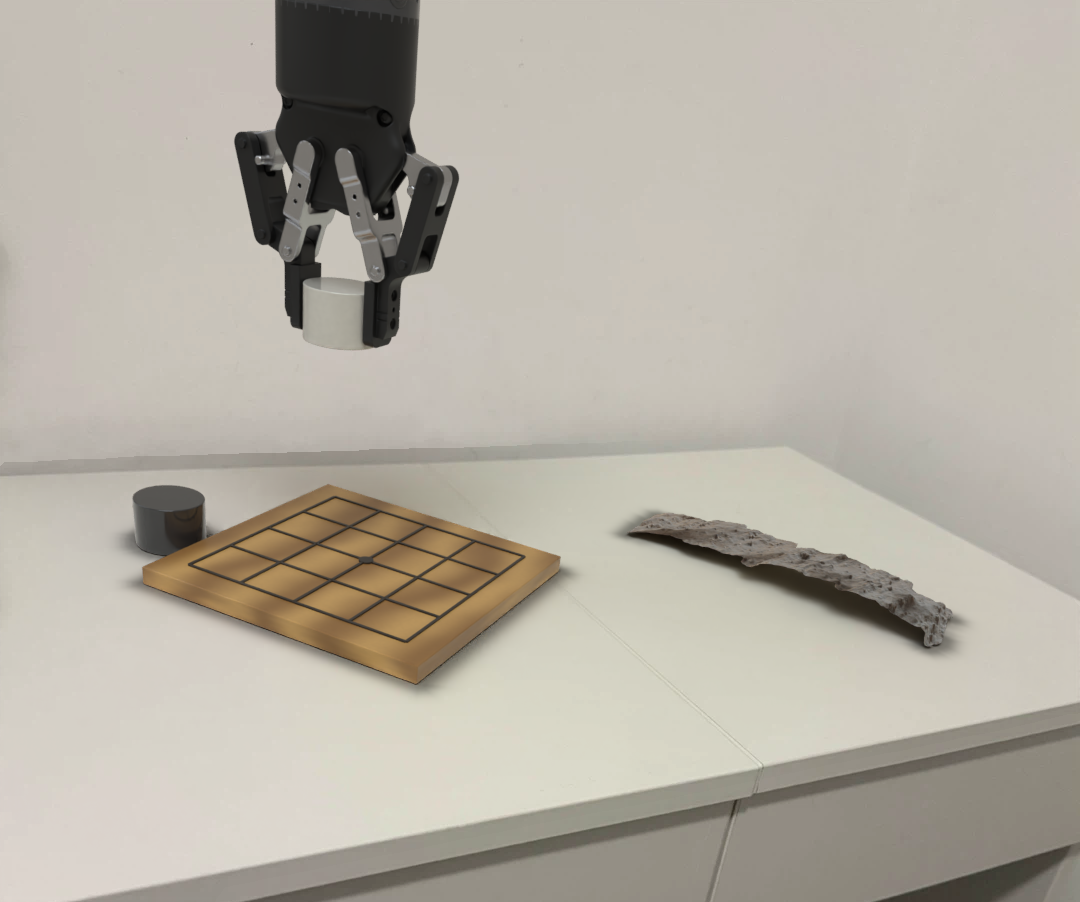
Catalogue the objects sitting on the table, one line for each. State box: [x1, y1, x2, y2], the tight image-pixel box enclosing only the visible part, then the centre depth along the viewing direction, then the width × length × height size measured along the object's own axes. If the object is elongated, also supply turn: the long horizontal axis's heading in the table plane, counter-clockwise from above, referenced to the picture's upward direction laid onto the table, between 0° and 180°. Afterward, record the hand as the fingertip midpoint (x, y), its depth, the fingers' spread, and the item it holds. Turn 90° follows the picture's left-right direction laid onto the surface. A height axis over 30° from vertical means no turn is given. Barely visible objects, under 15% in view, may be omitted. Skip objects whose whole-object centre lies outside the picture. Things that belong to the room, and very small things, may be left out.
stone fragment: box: [626, 512, 954, 648], centre depth 80 cm, size 25×3×10 cm
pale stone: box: [301, 276, 374, 351], centre depth 64 cm, size 5×5×3 cm
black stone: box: [131, 484, 208, 556], centre depth 71 cm, size 5×5×3 cm
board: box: [141, 483, 562, 685], centre depth 71 cm, size 20×20×1 cm
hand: (340, 334), depth 65 cm, fingers closed on pale stone, 4 cm apart
